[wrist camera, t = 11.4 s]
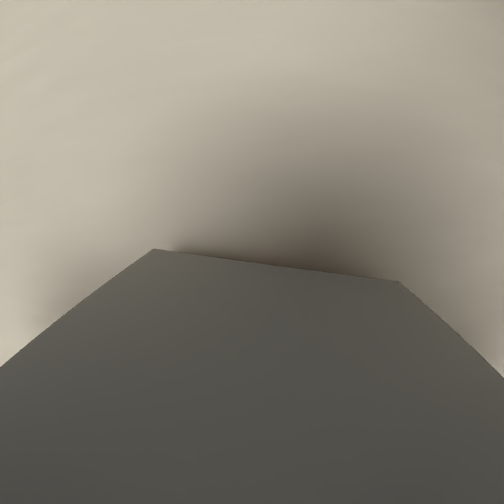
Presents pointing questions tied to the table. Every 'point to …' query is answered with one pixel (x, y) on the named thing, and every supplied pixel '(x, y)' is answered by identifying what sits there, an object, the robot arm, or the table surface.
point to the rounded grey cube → (249, 394)
